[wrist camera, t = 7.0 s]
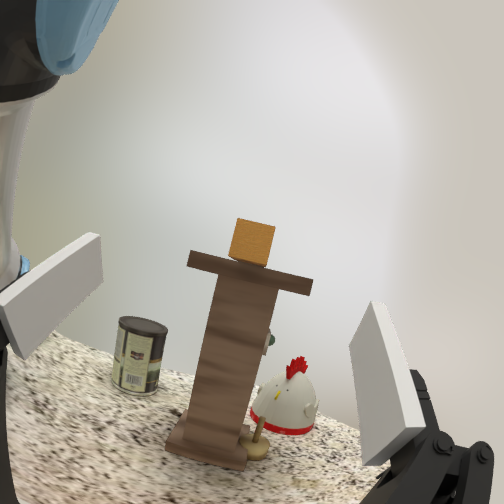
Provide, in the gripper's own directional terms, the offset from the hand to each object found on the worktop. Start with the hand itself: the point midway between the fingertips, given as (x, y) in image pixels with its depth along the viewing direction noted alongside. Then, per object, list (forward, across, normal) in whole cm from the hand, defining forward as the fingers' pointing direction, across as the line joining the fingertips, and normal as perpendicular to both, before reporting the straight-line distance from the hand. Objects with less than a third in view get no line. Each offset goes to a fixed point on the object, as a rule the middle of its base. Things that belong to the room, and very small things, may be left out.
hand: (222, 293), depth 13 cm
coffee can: (+21, +19, +44) cm, 53 cm away
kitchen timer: (+24, -13, +46) cm, 54 cm away
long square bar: (+22, 0, +10) cm, 24 cm away
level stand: (+11, 0, +38) cm, 40 cm away
